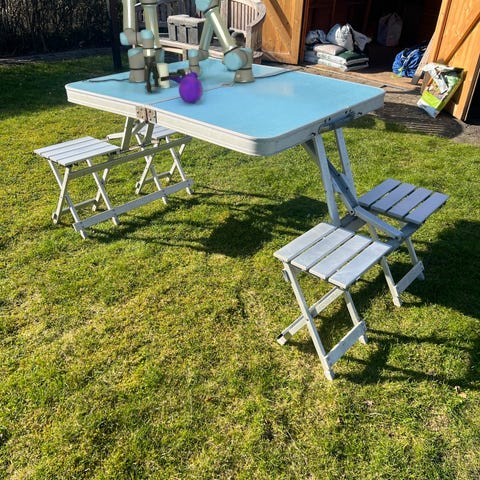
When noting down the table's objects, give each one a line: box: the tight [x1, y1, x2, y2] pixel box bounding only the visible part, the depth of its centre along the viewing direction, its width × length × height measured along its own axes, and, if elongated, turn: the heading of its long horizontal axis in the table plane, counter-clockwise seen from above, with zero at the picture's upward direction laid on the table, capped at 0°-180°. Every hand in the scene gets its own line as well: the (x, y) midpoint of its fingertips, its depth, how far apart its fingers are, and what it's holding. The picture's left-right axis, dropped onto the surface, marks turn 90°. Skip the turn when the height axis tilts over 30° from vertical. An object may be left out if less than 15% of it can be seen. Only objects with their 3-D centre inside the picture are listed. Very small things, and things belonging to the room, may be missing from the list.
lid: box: [144, 83, 162, 91], centre depth 303 cm, size 11×11×2 cm
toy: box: [168, 72, 204, 104], centre depth 278 cm, size 16×18×27 cm
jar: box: [157, 62, 171, 89], centre depth 316 cm, size 10×10×15 cm
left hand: (153, 90), depth 304 cm, fingers closed on lid, 11 cm apart
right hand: (156, 78), depth 314 cm, fingers closed on jar, 10 cm apart
